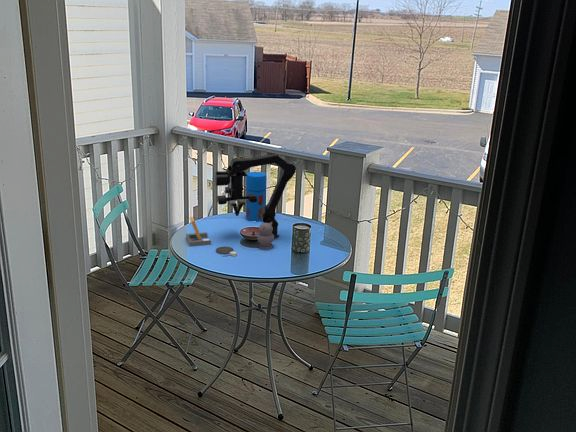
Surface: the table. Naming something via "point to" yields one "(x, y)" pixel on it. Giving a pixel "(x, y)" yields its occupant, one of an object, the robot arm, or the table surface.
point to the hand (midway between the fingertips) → (236, 215)
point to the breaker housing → (198, 242)
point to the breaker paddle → (195, 228)
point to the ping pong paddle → (226, 251)
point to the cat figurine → (265, 236)
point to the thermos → (258, 188)
